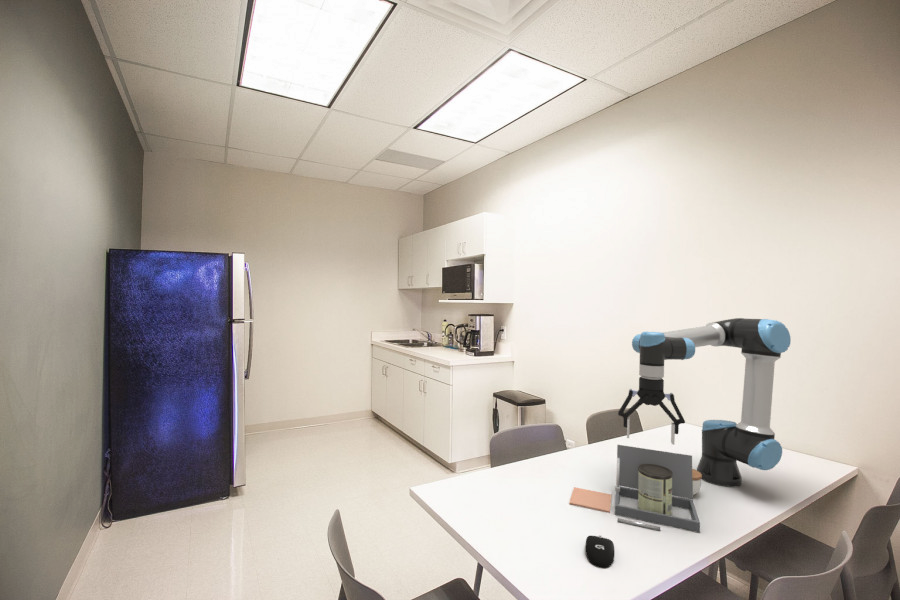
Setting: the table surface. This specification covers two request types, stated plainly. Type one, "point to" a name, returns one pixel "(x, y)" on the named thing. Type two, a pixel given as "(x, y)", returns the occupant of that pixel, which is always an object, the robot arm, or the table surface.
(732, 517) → the table surface
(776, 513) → the table surface
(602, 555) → the computer mouse
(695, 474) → the lidded jar
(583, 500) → the pad
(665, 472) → the coffee can
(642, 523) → the rod
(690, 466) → the case
